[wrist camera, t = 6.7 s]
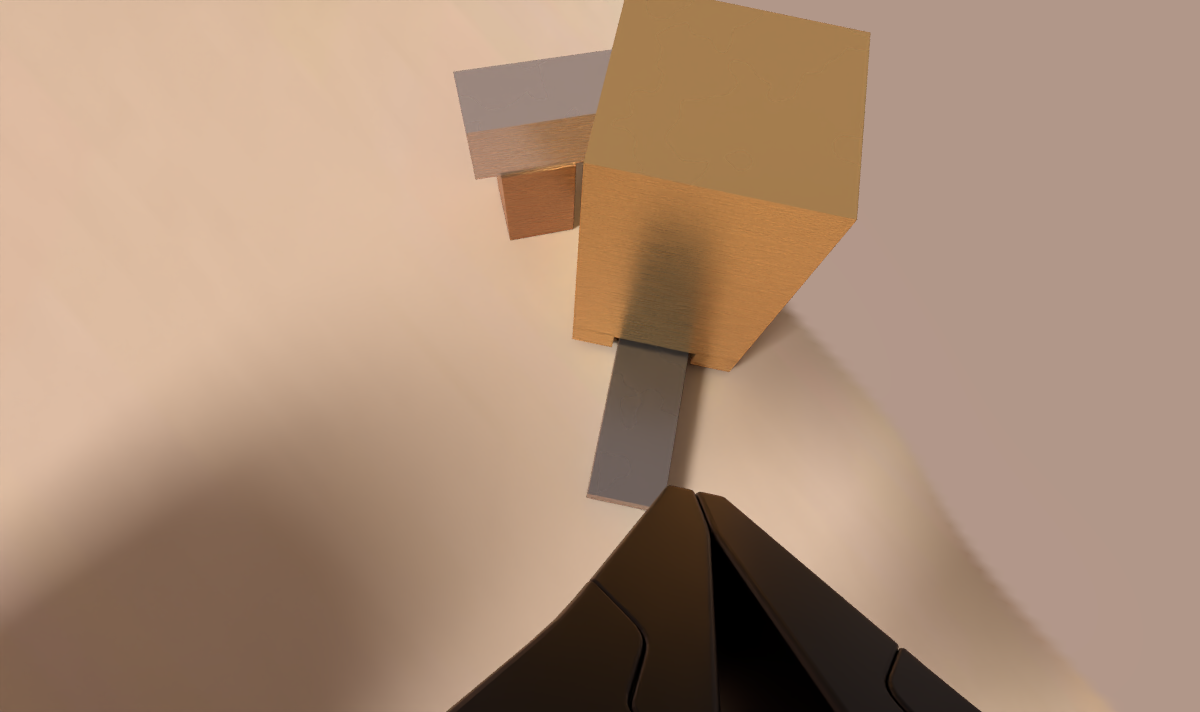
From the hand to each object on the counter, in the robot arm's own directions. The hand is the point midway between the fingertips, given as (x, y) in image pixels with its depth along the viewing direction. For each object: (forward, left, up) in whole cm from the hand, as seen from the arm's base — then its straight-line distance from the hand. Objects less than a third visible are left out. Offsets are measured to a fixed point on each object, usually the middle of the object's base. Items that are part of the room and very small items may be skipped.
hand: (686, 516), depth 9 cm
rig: (+9, +2, -12) cm, 15 cm away
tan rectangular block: (+9, -2, -12) cm, 15 cm away
